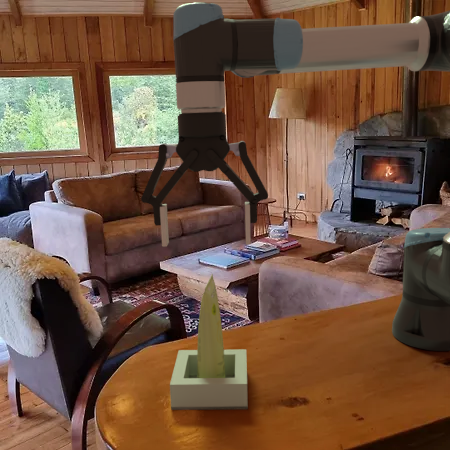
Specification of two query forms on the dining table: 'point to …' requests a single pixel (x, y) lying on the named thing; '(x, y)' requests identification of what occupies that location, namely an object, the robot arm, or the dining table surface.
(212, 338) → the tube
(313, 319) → the dining table surface
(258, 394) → the dining table surface
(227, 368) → the socket block
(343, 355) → the dining table surface
